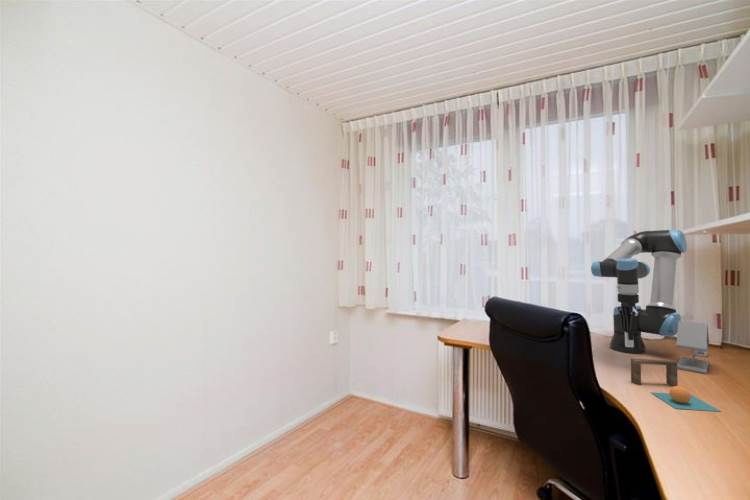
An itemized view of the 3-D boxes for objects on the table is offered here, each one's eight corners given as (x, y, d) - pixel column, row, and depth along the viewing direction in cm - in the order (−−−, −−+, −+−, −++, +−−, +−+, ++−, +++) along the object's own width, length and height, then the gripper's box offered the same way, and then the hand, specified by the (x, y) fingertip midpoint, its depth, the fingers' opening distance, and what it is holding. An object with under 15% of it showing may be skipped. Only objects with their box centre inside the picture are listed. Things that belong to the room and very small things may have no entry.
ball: (663, 390, 120) (669, 382, 117) (681, 391, 119) (687, 383, 116) (671, 406, 116) (678, 398, 113) (690, 406, 115) (697, 398, 112)
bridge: (631, 381, 135) (630, 358, 135) (672, 383, 133) (671, 360, 133) (635, 384, 132) (635, 360, 132) (677, 386, 130) (677, 362, 130)
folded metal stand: (706, 374, 142) (705, 327, 142) (676, 369, 149) (675, 323, 149) (709, 364, 155) (708, 320, 155) (681, 360, 162) (680, 318, 162)
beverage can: (700, 353, 172) (699, 323, 172) (711, 356, 166) (710, 326, 166) (688, 353, 172) (688, 323, 172) (699, 356, 166) (699, 326, 166)
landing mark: (650, 392, 124) (650, 392, 124) (691, 395, 122) (690, 394, 122) (675, 408, 111) (675, 408, 111) (721, 411, 109) (721, 411, 109)
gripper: (610, 291, 157) (612, 342, 157) (626, 295, 144) (628, 350, 144) (628, 291, 155) (630, 342, 155) (646, 295, 142) (648, 351, 143)
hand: (629, 346), depth 150 cm, fingers closed
